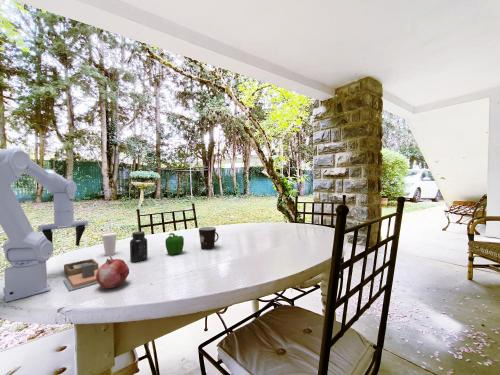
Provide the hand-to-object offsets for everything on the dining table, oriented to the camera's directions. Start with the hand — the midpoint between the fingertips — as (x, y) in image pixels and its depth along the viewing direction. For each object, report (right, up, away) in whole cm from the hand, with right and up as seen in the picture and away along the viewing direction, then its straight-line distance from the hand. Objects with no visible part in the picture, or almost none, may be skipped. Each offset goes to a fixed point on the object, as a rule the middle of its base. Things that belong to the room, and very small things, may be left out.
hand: (65, 247), depth 86 cm
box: (+6, -9, 0) cm, 11 cm away
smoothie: (+4, -9, +21) cm, 24 cm away
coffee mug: (+49, -8, +28) cm, 57 cm away
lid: (+14, -9, -7) cm, 18 cm away
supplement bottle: (+22, -9, +13) cm, 27 cm away
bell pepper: (+34, -9, +22) cm, 41 cm away
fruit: (+25, -10, -12) cm, 30 cm away
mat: (+14, -9, -8) cm, 19 cm away
